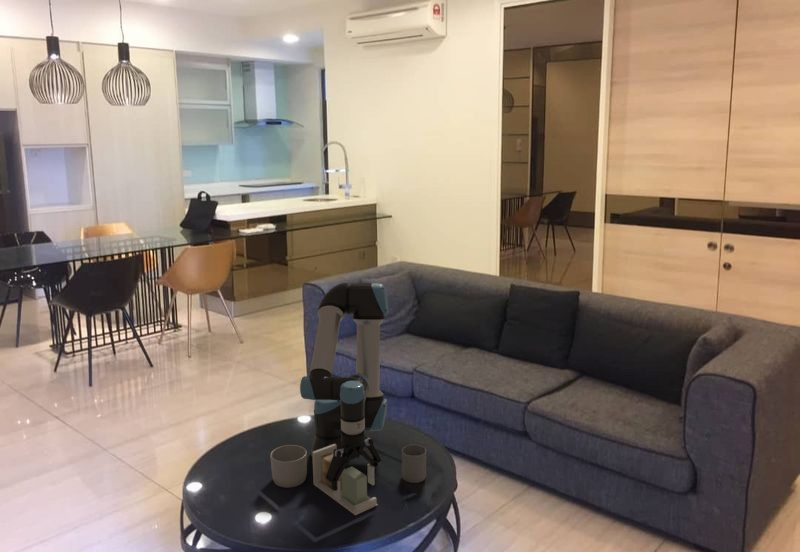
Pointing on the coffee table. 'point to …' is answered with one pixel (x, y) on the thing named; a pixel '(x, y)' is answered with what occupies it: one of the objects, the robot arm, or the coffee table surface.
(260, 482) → the coffee table surface
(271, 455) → the planter
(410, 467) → the cup
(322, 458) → the oak panel
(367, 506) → the track
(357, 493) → the green panel
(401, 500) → the coffee table surface
